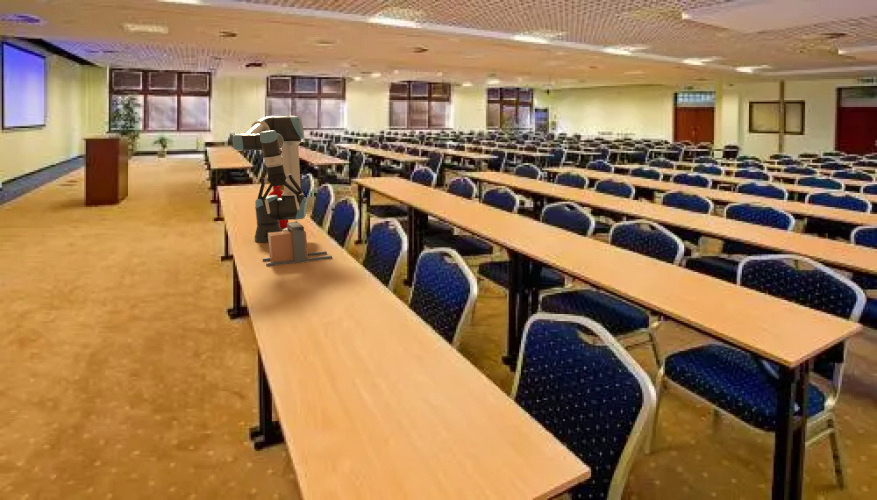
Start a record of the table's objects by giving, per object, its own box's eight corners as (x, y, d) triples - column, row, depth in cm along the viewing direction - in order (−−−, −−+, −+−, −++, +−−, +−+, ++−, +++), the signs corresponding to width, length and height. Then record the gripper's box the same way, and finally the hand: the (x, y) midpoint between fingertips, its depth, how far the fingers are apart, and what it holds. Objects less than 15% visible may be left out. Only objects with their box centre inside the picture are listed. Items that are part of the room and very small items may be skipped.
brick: (272, 263, 277) (270, 235, 274) (270, 260, 283) (267, 232, 280) (307, 259, 284) (306, 232, 281) (304, 256, 290) (302, 229, 287)
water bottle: (292, 226, 363) (289, 184, 357) (282, 229, 353) (278, 186, 347) (279, 225, 366) (276, 183, 360) (268, 229, 356) (265, 186, 350)
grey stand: (267, 266, 273) (264, 230, 270) (262, 260, 285) (259, 225, 281) (332, 258, 286) (330, 224, 282) (325, 253, 297) (323, 219, 293)
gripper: (244, 170, 272) (254, 216, 277) (300, 162, 272) (309, 209, 278) (248, 168, 279) (258, 213, 285) (303, 160, 279) (311, 205, 285)
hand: (283, 211), depth 281 cm, fingers open, 13 cm apart
